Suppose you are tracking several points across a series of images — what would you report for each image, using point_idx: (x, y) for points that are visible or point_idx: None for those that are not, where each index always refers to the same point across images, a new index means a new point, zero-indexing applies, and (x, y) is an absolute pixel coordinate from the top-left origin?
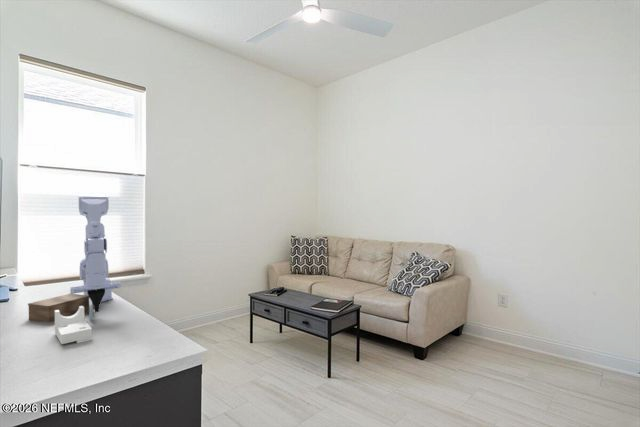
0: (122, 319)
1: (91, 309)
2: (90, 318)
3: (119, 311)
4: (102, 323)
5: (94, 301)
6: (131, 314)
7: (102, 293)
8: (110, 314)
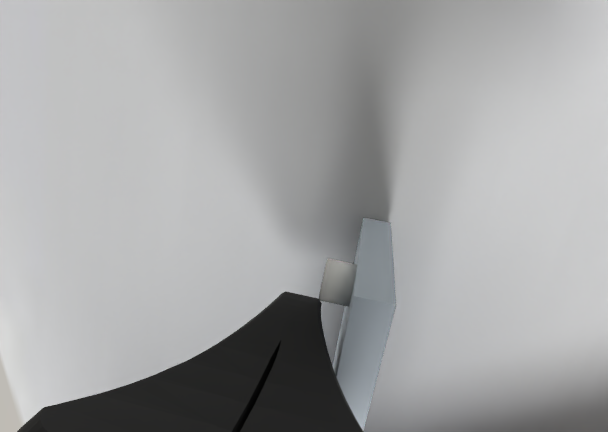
0: (102, 35)
1: (371, 276)
2: (384, 229)
3: (108, 347)
4: (302, 32)
5: (302, 381)
6: (17, 164)
7: (62, 429)
8: (184, 314)
